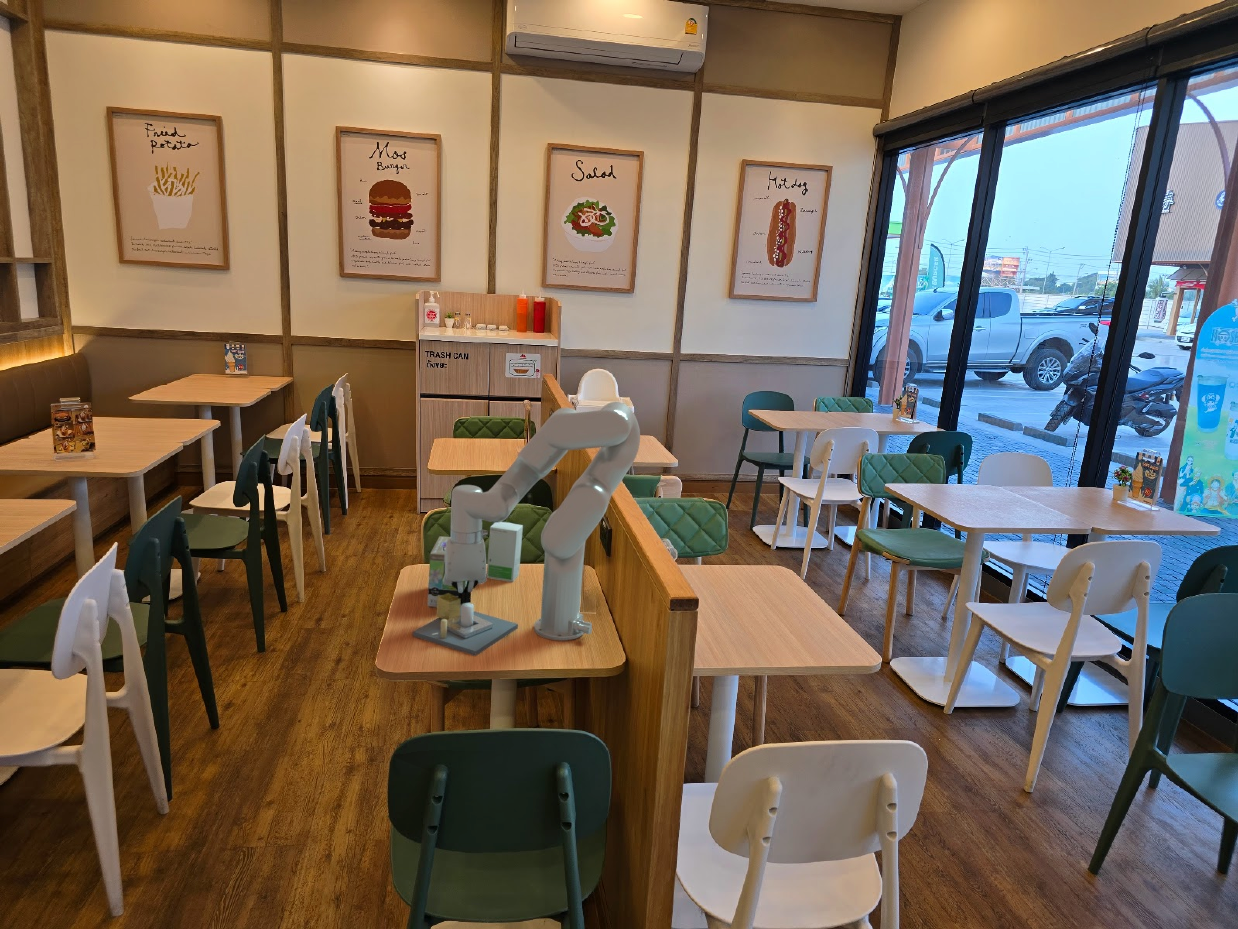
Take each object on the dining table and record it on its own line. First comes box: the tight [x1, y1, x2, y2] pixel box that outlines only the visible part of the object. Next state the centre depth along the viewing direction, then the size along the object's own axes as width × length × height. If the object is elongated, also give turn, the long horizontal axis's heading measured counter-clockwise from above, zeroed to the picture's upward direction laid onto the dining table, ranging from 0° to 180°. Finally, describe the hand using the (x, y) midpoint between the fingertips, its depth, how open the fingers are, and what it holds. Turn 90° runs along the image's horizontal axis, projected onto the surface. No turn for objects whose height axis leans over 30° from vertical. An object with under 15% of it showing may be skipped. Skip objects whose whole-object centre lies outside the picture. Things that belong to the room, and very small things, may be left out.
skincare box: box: [486, 521, 524, 583], centre depth 234 cm, size 8×7×16 cm
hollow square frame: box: [436, 593, 493, 638], centre depth 199 cm, size 14×9×6 cm, turn 52°
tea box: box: [427, 535, 467, 608], centre depth 217 cm, size 15×10×15 cm, turn 3°
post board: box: [412, 603, 519, 657], centre depth 198 cm, size 18×18×7 cm
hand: (464, 605), depth 204 cm, fingers closed
